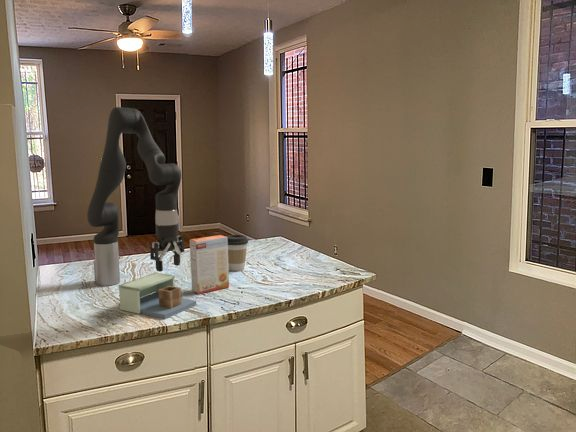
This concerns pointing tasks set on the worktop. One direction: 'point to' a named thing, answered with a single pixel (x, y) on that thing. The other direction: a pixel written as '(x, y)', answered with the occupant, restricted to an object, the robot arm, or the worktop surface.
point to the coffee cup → (236, 252)
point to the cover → (142, 290)
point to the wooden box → (169, 297)
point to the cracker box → (209, 263)
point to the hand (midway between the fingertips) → (168, 268)
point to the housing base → (152, 308)
